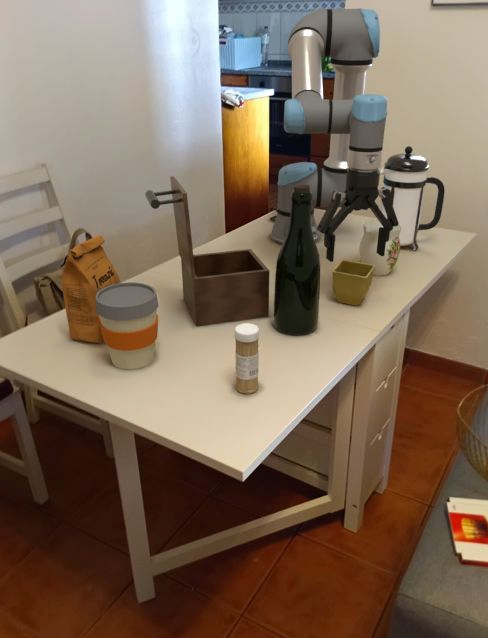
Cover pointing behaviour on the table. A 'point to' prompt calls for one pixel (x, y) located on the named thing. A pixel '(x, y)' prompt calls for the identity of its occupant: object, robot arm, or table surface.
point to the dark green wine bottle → (298, 270)
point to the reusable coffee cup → (129, 323)
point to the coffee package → (86, 287)
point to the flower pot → (352, 281)
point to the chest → (226, 287)
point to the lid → (178, 220)
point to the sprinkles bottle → (247, 357)
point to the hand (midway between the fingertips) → (355, 257)
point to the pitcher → (370, 248)
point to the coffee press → (409, 193)
